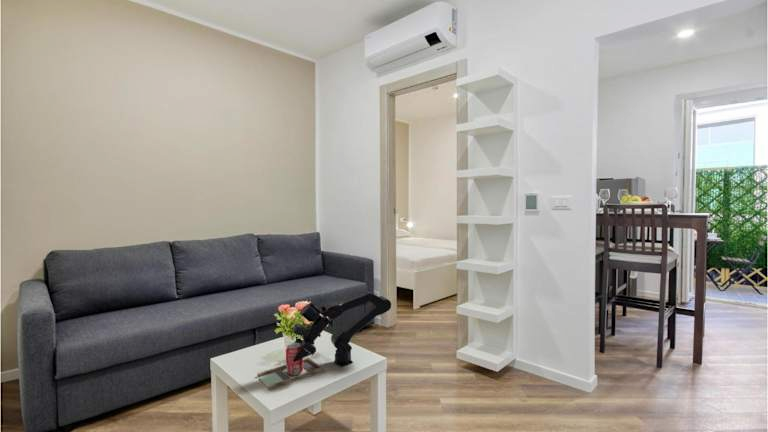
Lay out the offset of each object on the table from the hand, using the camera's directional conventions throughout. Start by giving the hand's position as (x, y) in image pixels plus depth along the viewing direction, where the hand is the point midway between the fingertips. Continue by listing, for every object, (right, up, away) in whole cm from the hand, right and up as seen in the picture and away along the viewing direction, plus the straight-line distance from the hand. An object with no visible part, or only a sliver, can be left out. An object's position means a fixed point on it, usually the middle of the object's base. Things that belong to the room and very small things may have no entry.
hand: (292, 356), depth 158 cm
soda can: (+1, -7, +1) cm, 7 cm away
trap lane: (-1, -7, -1) cm, 7 cm away
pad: (-7, -7, -6) cm, 12 cm away
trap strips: (+2, -7, +1) cm, 7 cm away
